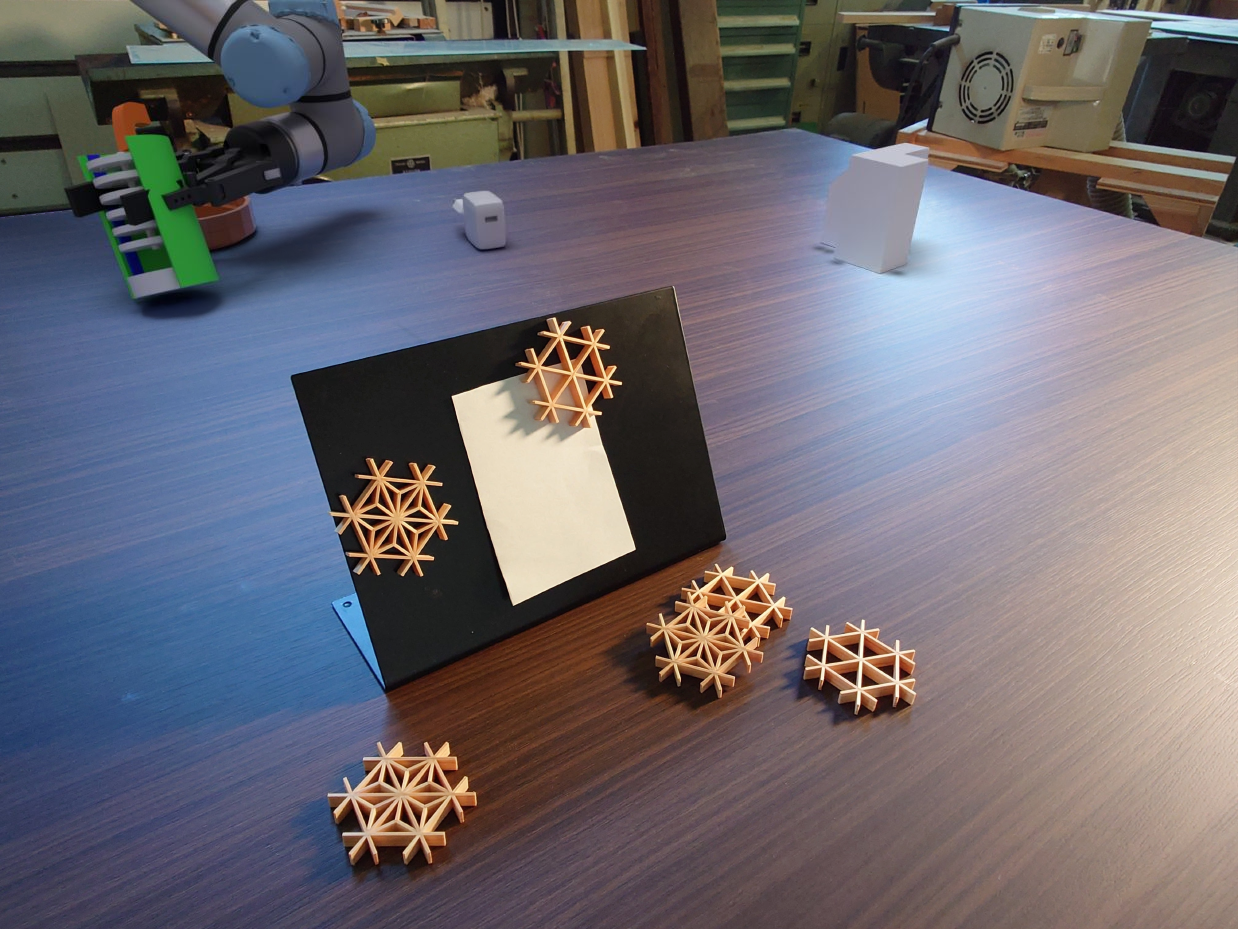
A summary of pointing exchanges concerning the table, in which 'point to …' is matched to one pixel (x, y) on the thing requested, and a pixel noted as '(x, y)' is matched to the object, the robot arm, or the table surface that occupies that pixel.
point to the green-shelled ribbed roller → (174, 238)
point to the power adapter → (482, 219)
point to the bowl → (226, 222)
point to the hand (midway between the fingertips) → (99, 206)
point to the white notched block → (876, 206)
